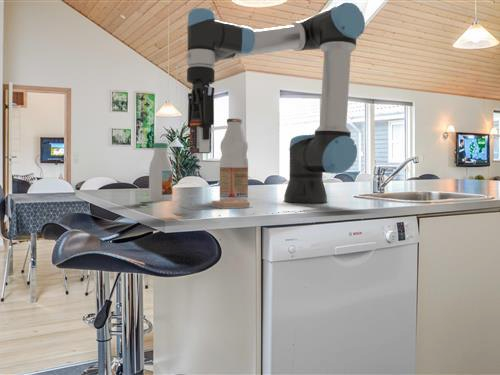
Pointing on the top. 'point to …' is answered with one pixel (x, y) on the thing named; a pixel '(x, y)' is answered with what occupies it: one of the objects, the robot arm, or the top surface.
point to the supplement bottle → (196, 134)
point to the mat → (203, 207)
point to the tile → (230, 204)
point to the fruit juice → (234, 163)
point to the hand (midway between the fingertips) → (199, 152)
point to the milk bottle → (160, 175)
